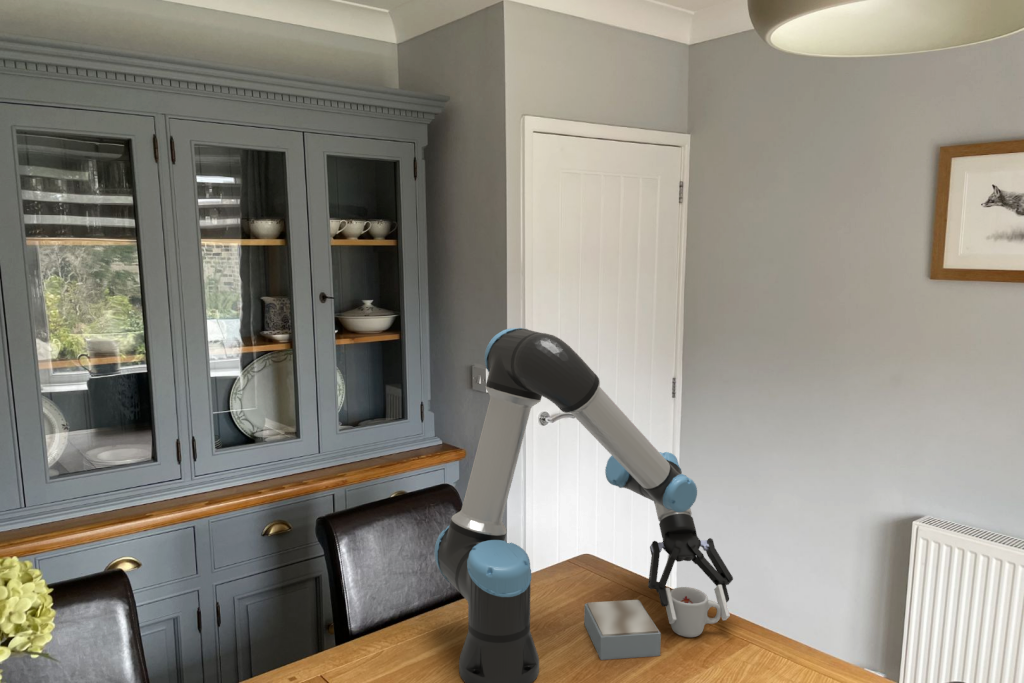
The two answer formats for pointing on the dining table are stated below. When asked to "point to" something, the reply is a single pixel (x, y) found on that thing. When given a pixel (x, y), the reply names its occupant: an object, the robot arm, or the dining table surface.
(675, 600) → the cup
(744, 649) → the dining table surface
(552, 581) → the dining table surface
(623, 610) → the grey flat block
